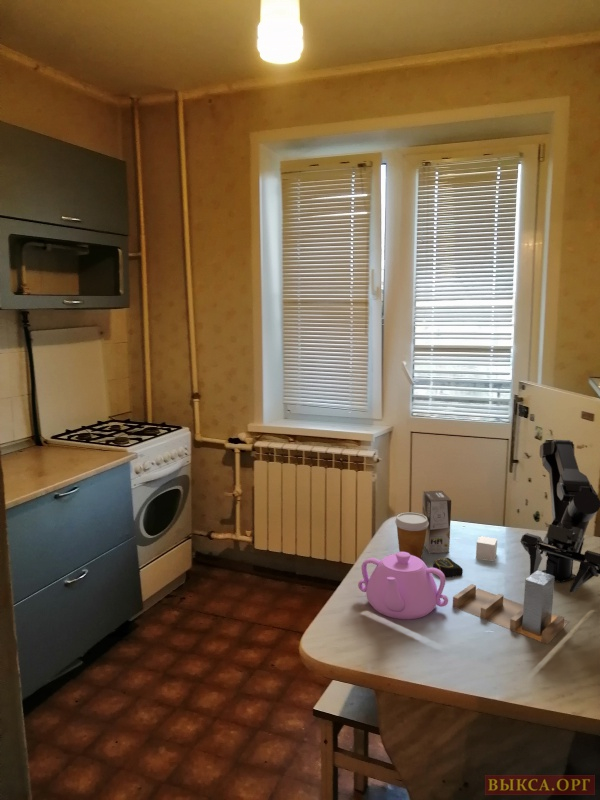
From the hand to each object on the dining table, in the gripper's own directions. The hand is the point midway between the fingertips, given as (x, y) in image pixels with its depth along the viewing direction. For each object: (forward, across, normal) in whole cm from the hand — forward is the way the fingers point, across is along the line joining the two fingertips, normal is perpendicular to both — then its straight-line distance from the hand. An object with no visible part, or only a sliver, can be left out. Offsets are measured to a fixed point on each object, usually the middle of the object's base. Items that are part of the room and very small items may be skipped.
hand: (550, 585), depth 140 cm
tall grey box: (+10, 0, 0) cm, 10 cm away
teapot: (+21, -27, -8) cm, 35 cm away
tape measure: (+4, -29, +10) cm, 31 cm away
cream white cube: (-9, -27, +22) cm, 36 cm away
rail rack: (+10, -7, +3) cm, 12 cm away
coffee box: (-6, -42, +19) cm, 46 cm away
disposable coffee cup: (+2, -42, +11) cm, 44 cm away
